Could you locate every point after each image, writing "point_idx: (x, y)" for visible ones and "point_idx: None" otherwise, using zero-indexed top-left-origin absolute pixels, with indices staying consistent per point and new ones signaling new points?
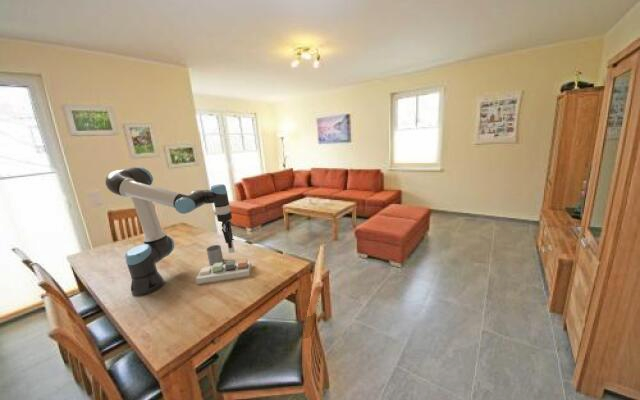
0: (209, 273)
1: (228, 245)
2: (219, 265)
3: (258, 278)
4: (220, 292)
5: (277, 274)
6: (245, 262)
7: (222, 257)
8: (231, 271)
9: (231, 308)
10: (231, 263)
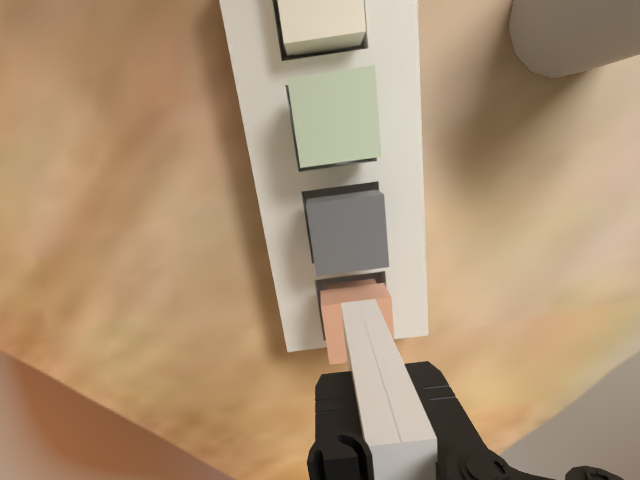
0: (297, 53)
1: (317, 420)
2: (316, 147)
3: (262, 376)
4: (132, 205)
5: (289, 452)
6: (330, 358)
7: (594, 66)
8: (294, 241)
9: (6, 307)
10: (334, 252)
